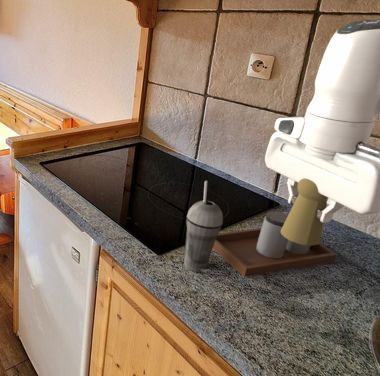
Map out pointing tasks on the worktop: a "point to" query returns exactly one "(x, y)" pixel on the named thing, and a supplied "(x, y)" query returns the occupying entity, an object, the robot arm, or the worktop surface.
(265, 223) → the cylinder
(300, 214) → the cork
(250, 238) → the spice tray
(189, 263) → the beverage cup
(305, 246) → the grey shaker
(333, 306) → the worktop surface
